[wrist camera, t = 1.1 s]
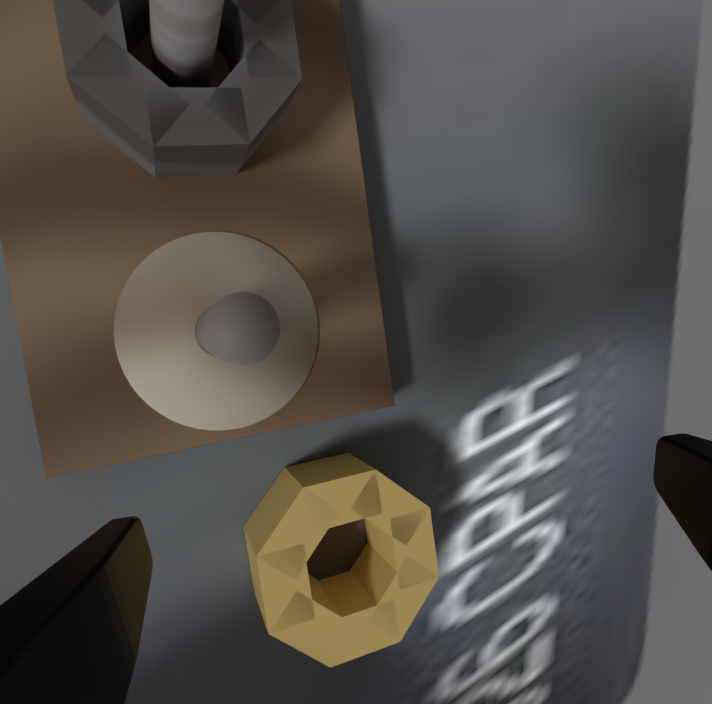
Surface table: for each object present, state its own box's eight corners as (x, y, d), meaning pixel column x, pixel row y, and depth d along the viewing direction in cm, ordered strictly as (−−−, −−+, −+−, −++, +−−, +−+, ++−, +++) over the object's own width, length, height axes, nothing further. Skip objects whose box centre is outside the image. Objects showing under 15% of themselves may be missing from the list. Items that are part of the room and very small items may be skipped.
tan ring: (410, 589, 23) (445, 625, 20) (261, 639, 21) (276, 687, 18) (390, 442, 22) (423, 457, 19) (235, 478, 20) (247, 501, 17)
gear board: (380, 401, 22) (471, 427, 15) (55, 467, 18) (-8, 540, 11) (324, 0, 21) (397, -158, 14) (-36, -24, 17) (-165, -257, 10)
